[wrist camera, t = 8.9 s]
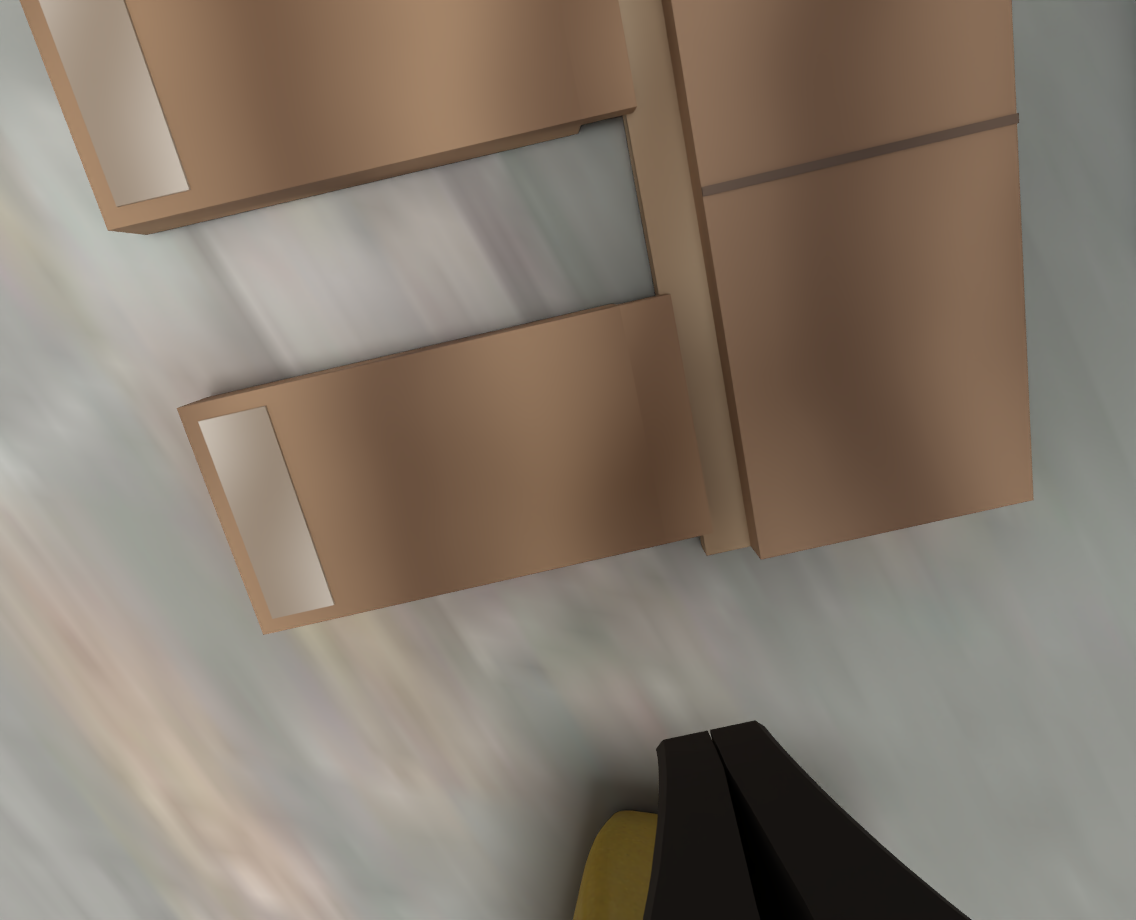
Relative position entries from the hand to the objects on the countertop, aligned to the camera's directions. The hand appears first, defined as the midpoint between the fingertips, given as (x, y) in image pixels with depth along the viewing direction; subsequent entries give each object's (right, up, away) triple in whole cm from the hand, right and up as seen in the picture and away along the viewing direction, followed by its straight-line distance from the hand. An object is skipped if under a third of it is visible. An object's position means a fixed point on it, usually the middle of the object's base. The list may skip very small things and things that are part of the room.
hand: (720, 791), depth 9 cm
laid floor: (+4, +11, +7) cm, 14 cm away
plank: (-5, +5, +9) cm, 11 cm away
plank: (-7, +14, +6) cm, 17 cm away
